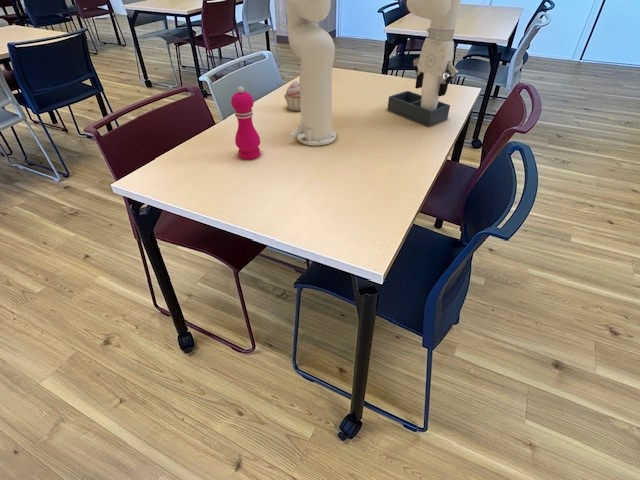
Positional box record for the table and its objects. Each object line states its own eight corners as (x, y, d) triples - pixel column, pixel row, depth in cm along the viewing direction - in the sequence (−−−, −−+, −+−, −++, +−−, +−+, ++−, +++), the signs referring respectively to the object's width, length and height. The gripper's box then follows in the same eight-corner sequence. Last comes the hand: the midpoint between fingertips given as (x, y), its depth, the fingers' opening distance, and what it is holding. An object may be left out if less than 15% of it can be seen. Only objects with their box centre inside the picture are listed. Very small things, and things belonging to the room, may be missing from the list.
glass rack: (428, 126, 129) (431, 112, 125) (387, 110, 140) (388, 96, 137) (447, 119, 133) (450, 105, 130) (405, 104, 145) (407, 90, 142)
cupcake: (308, 113, 139) (308, 85, 133) (283, 113, 139) (281, 85, 133) (310, 103, 146) (309, 76, 140) (285, 103, 146) (284, 76, 140)
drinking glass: (435, 113, 136) (443, 68, 126) (438, 120, 131) (447, 75, 121) (416, 112, 136) (423, 68, 127) (418, 119, 131) (425, 74, 122)
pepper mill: (238, 162, 110) (227, 92, 97) (236, 151, 116) (225, 83, 103) (263, 158, 112) (255, 89, 99) (259, 148, 117) (252, 81, 104)
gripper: (411, 31, 120) (403, 86, 131) (456, 41, 110) (443, 101, 121) (426, 29, 124) (417, 83, 135) (472, 38, 114) (458, 96, 124)
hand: (429, 91), depth 128 cm, fingers open, 9 cm apart
